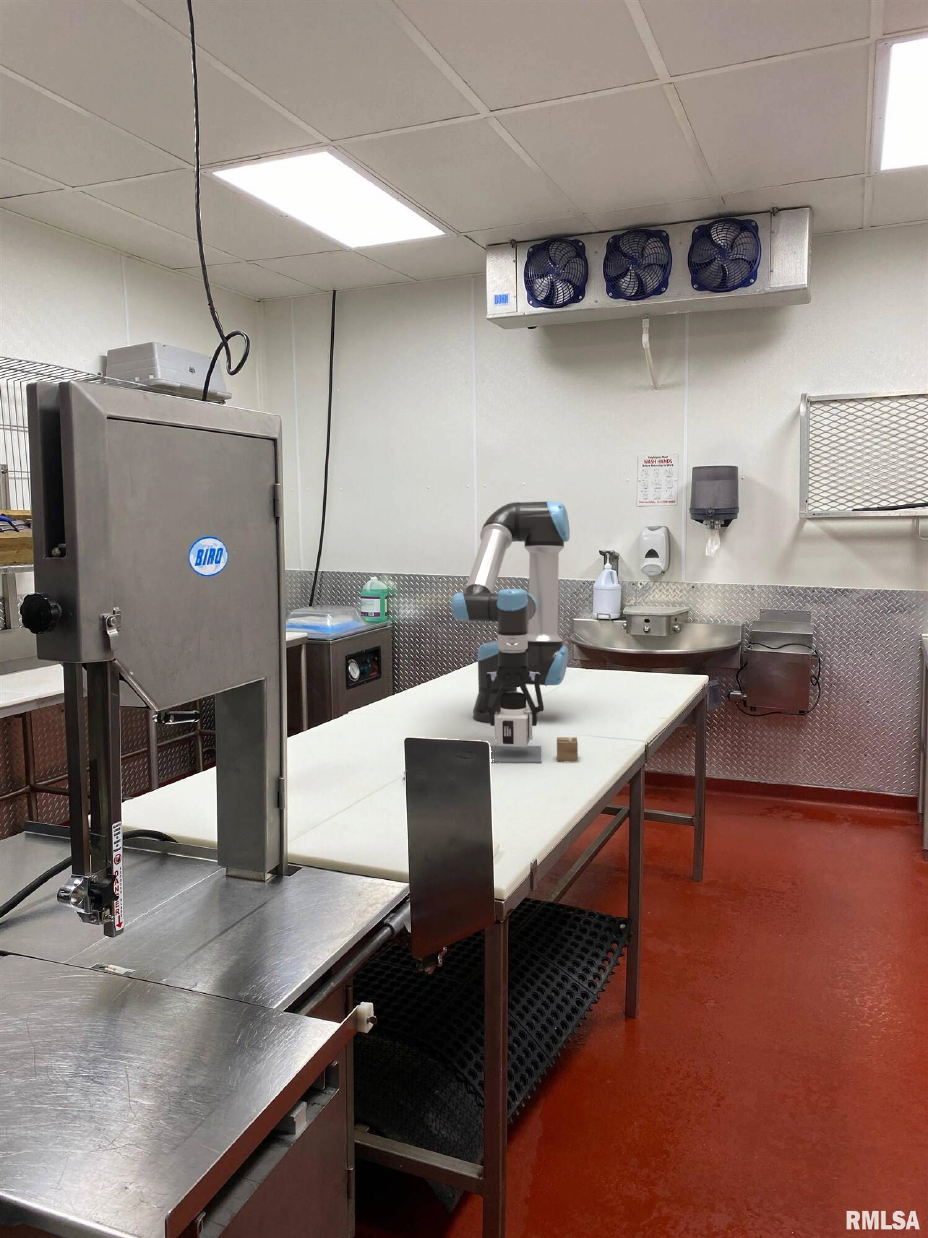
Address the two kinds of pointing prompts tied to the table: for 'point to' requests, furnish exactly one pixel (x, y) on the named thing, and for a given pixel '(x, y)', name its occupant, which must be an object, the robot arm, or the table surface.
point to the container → (513, 721)
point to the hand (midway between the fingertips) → (513, 738)
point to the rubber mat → (516, 754)
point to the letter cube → (567, 749)
